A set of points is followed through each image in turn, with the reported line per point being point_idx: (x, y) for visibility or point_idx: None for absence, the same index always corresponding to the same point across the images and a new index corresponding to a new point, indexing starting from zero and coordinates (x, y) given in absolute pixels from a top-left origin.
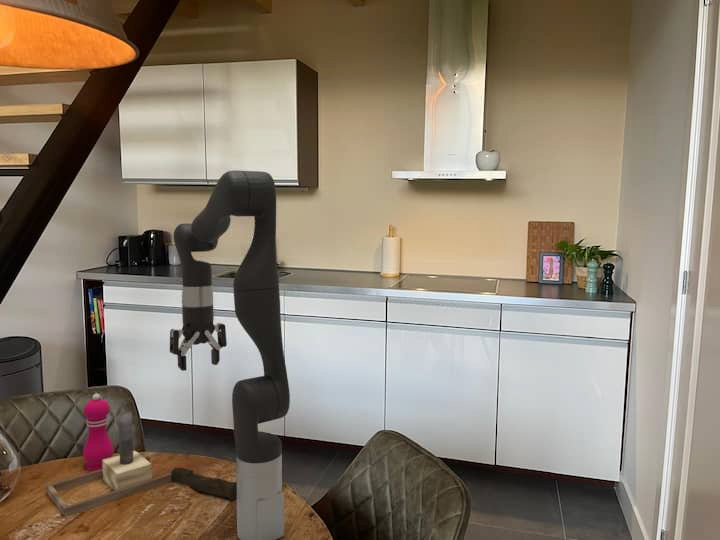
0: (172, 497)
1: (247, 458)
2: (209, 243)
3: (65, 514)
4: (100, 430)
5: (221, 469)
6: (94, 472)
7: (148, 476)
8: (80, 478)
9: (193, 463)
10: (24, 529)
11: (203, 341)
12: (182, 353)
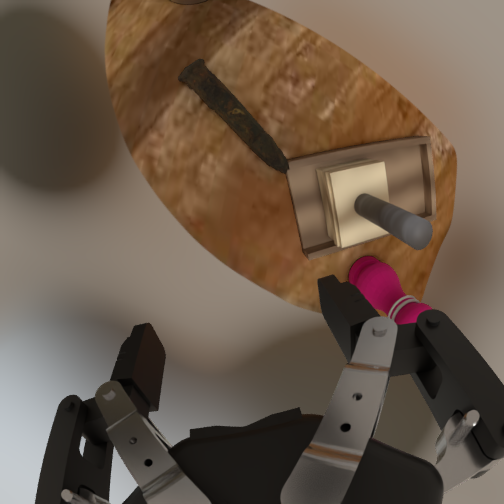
0: (289, 121)
1: None
2: None
3: (423, 136)
4: (397, 294)
5: (186, 188)
6: None
7: (327, 169)
8: None
9: (229, 233)
10: (446, 147)
11: (217, 439)
12: (387, 326)
